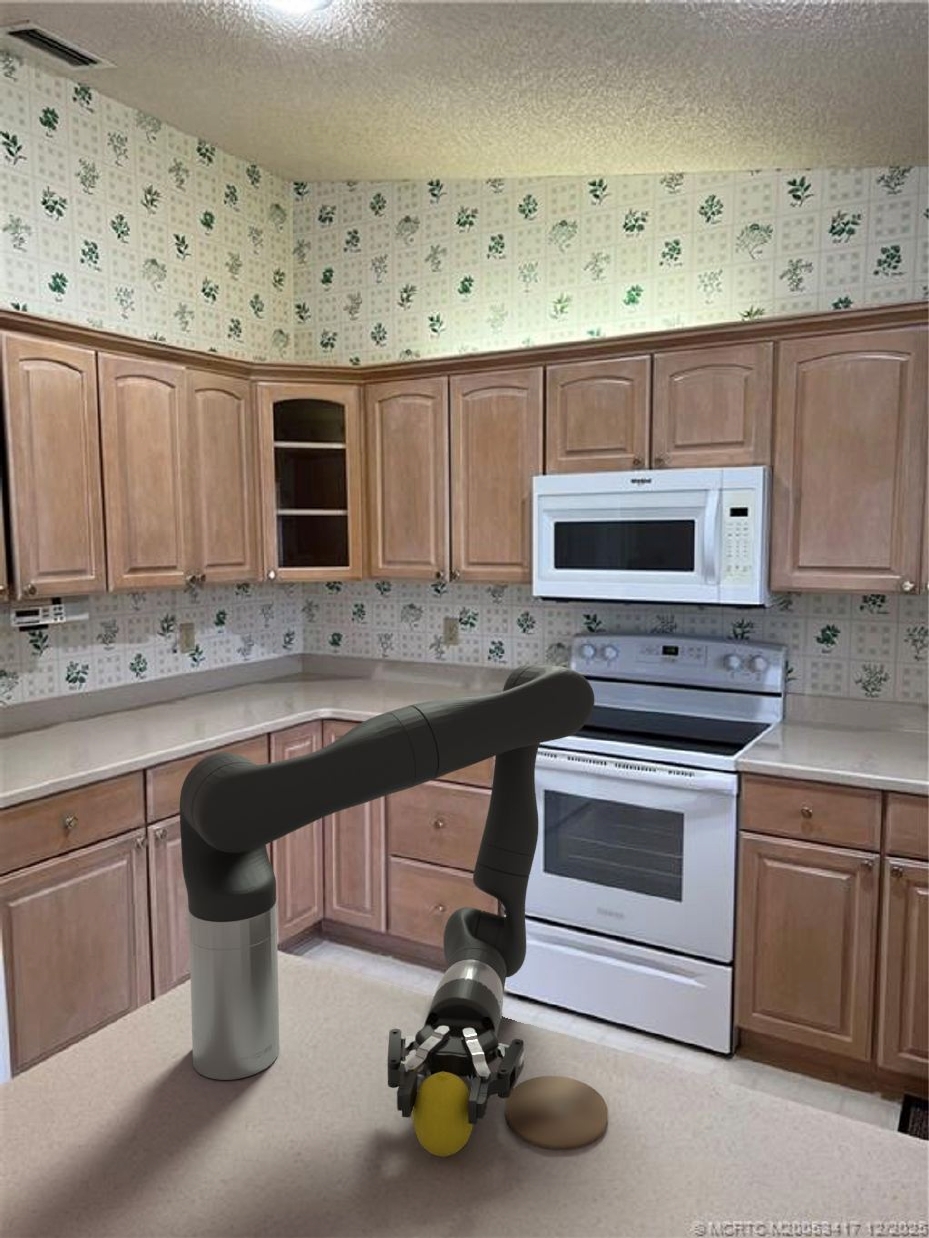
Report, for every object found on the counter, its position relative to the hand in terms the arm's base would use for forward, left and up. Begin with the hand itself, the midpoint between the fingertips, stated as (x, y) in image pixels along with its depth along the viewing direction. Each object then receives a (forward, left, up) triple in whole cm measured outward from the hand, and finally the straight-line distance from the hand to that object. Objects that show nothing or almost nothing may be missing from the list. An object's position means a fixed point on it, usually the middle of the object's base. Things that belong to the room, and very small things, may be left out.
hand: (439, 1110), depth 77 cm
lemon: (-2, +2, -6) cm, 7 cm away
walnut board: (+1, +14, -6) cm, 15 cm away
